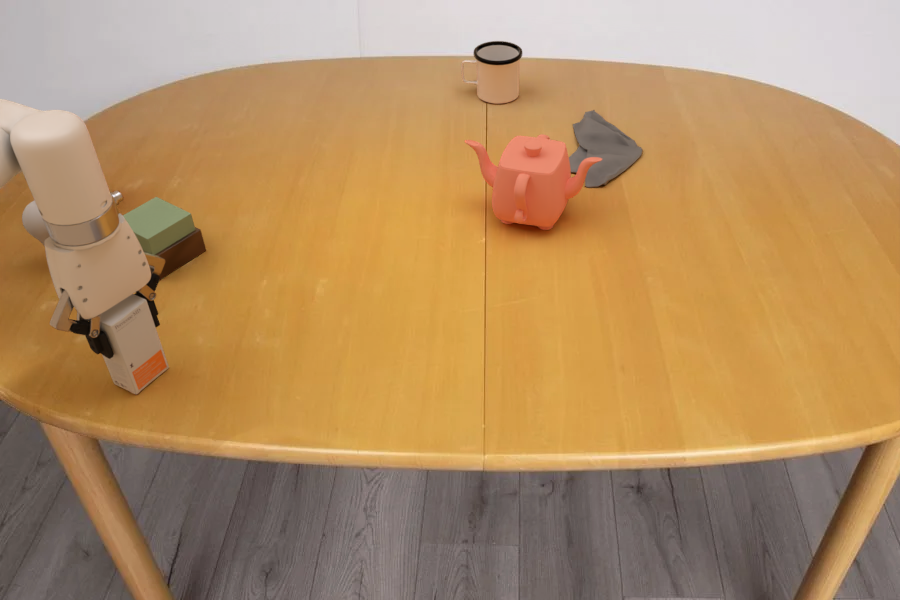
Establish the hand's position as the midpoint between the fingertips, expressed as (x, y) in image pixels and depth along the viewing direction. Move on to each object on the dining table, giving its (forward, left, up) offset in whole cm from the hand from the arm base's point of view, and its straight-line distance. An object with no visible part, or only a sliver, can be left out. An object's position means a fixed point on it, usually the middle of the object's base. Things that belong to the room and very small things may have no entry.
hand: (127, 336), depth 110 cm
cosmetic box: (0, 0, -7) cm, 7 cm away
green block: (+19, +19, -3) cm, 27 cm away
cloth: (+85, -21, -7) cm, 88 cm away
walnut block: (+19, +19, -7) cm, 28 cm away
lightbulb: (+9, +30, -7) cm, 32 cm away
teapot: (+61, -21, -7) cm, 65 cm away
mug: (+91, +8, -7) cm, 92 cm away
